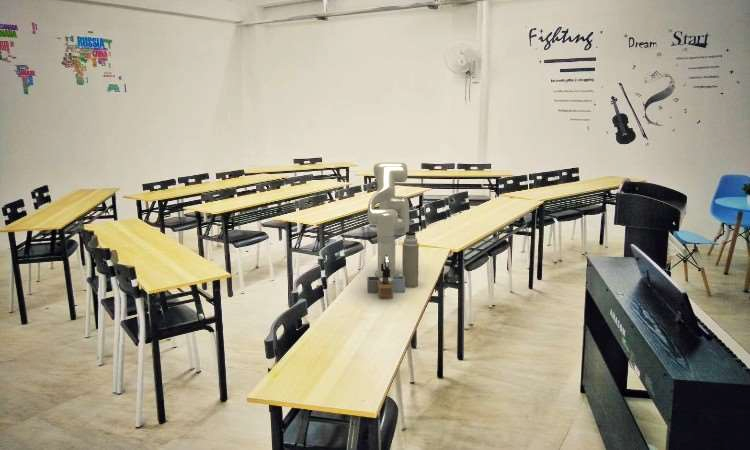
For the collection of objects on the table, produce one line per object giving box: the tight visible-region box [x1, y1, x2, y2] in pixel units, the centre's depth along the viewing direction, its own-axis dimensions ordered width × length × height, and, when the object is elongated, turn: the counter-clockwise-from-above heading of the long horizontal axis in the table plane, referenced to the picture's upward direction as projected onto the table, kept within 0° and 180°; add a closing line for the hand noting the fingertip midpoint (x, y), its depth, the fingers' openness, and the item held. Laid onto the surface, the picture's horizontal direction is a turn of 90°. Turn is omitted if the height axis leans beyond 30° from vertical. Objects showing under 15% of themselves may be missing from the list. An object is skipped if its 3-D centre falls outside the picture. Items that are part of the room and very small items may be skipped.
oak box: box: [377, 288, 394, 300], centre depth 256 cm, size 6×6×6 cm
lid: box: [377, 273, 394, 288], centre depth 255 cm, size 7×7×6 cm
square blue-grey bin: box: [390, 275, 406, 294], centre depth 264 cm, size 6×6×7 cm
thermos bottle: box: [401, 231, 420, 289], centre depth 269 cm, size 8×8×28 cm
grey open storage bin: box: [366, 275, 381, 294], centre depth 263 cm, size 6×6×7 cm
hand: (385, 274), depth 253 cm, fingers open, 9 cm apart
